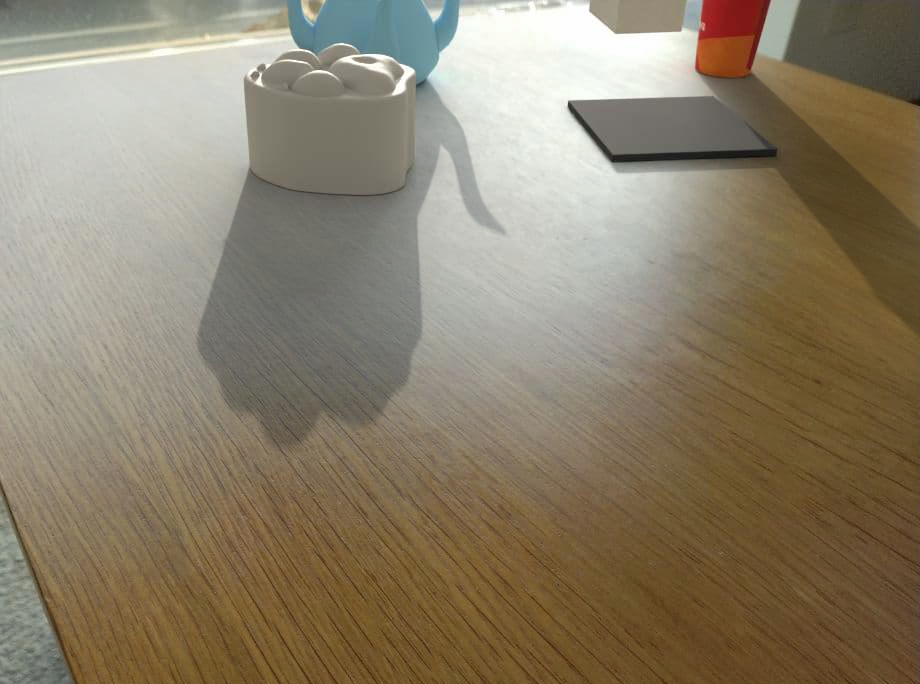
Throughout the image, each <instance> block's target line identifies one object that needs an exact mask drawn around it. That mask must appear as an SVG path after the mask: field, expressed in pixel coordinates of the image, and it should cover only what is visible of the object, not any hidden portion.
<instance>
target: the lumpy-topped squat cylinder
mask: <svg viewBox="0 0 920 684" xmlns="http://www.w3.org/2000/svg"><path fill="white" fill-rule="evenodd" d="M243 89H244V90H243V91H244V104H245V117H246V119H245V122H246V133H247V146H248V157H249V158H248V160H249V168H250V170H251V172H252V173H253V174H254V175H255V176H256V177H258V179H260V180H263V181H265V182H268V183H270V184H272V185H275V186H278V187H281V188H284V189H287V190H293V191H296V192H297V191H298V192H306V193H317V194H326V195H327V194H328V195H329V194H330V195H351V196H352V195H353V196H375V195H383V194H390V193H393V192H396V191H399V190H400V189H402V188H403V187H404V186H405V185H406V178H407V177H406V175H407V173H408V171H409V170H410V169H411V168H412V166H413V165H414V163H415V140H416V139H415V135H416V129H415V127H416V102H417V101H416V99H417V98H416V97H417V85H416V73H415V71H414V70H413V69H412V68H410V67H408V66H405V65H401V64H399V63H398V62H397V61H395V60H394V59H393V58H391V57H388V56H384V55H372V54H368V55H361V54H360V53H359V51H358V50H357V49H356V48H355V47H353V46H351V45H348V44H335V45H332V46H330V47H328V48H326V49H324V50H322V51H321V52H320V53H319V54H318V55H317V56H315V55H314V54H313V53H312V52H310V51H307V50H301V49H300V48H298V49H295V48H294V49H290V50H287V51H285V52H283V53H281V54H280V55H279V56H278V57H277V58H276V59H275V60H274V61H273V62H272V63H268V64H265V63H263V62H262V63H260V64H259V65H258V66H257V67H254V68H252V69H250V70H248V71H247V72H246V73H245V74H244V77H243Z"/></svg>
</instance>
